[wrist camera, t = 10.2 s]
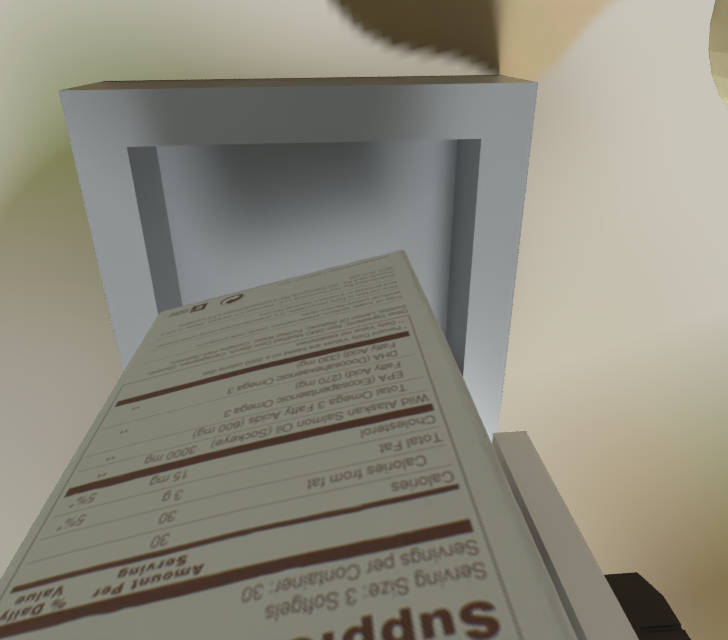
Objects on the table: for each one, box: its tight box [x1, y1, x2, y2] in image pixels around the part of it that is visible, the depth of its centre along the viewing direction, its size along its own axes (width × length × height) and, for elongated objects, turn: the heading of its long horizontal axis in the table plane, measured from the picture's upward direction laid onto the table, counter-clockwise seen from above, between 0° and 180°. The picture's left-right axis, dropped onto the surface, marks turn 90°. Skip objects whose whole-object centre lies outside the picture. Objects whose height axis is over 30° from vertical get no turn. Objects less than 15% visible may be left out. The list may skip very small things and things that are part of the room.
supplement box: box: [0, 250, 578, 640], centre depth 12 cm, size 7×7×13 cm
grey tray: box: [59, 75, 538, 443], centre depth 22 cm, size 16×14×4 cm
